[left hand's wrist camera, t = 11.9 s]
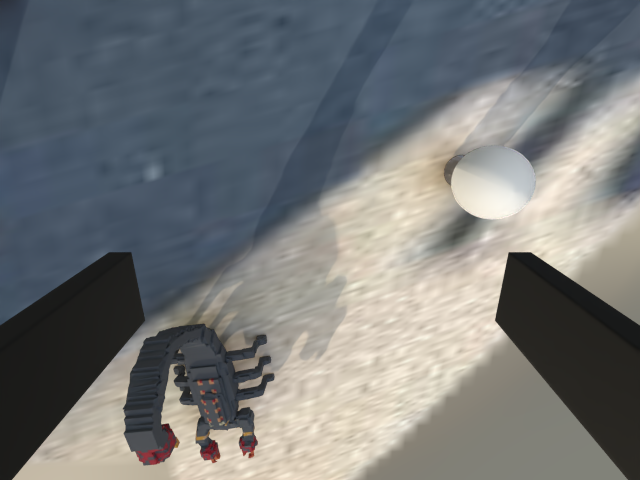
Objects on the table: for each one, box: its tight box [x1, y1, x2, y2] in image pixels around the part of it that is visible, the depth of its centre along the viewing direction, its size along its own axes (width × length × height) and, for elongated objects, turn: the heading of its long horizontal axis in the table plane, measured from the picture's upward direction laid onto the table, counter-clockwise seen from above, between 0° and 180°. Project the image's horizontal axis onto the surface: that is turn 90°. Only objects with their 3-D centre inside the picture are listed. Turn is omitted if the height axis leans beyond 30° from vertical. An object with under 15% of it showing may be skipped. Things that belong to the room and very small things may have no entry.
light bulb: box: [444, 145, 536, 219], centre depth 34 cm, size 7×7×11 cm
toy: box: [123, 324, 274, 465], centre depth 40 cm, size 13×27×18 cm, turn 7°
